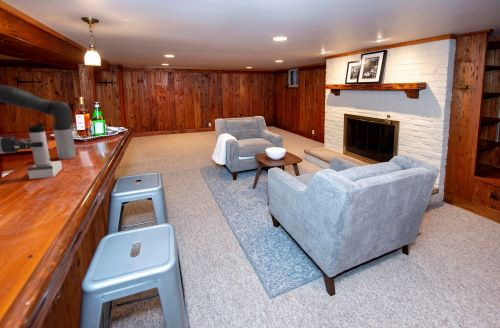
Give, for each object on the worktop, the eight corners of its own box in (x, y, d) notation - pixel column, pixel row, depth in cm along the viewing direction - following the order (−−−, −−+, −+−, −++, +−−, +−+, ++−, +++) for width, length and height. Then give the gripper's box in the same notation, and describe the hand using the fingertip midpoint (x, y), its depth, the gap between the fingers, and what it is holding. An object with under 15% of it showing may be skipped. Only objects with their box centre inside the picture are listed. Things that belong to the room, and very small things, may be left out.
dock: (40, 169, 155) (38, 159, 154) (62, 168, 158) (60, 158, 157) (29, 179, 140) (27, 167, 139) (53, 176, 143) (51, 165, 142)
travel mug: (54, 164, 148) (47, 124, 143) (41, 167, 142) (33, 125, 137) (45, 163, 150) (38, 123, 145) (32, 166, 144) (24, 125, 139)
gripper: (-6, 139, 131) (38, 137, 136) (8, 134, 144) (48, 133, 150) (-2, 156, 133) (41, 153, 138) (11, 149, 146) (50, 147, 152)
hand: (44, 143), depth 144 cm, fingers closed on travel mug, 6 cm apart
